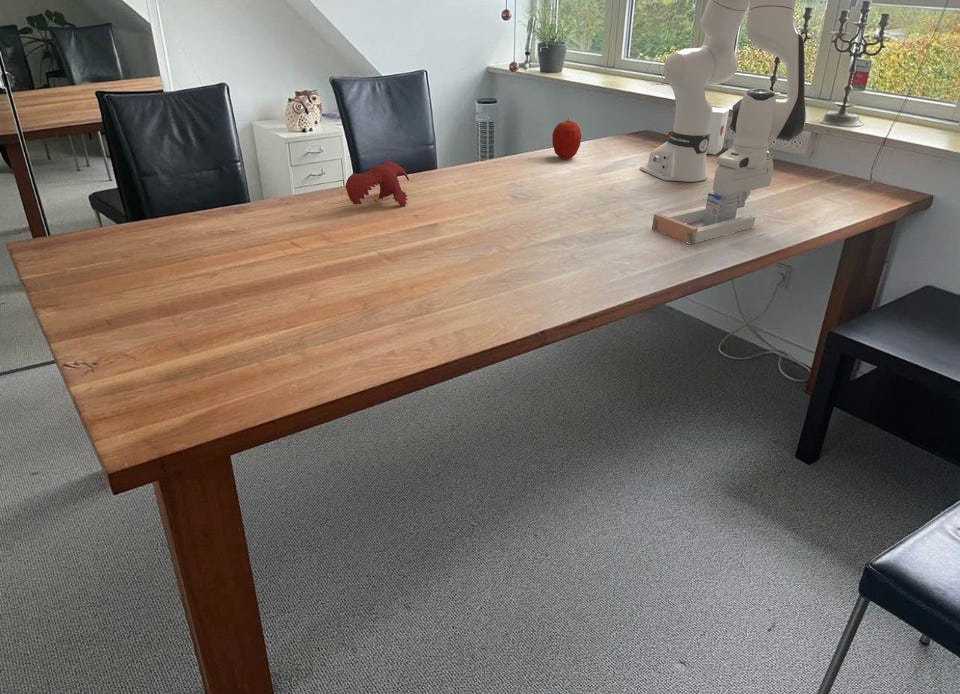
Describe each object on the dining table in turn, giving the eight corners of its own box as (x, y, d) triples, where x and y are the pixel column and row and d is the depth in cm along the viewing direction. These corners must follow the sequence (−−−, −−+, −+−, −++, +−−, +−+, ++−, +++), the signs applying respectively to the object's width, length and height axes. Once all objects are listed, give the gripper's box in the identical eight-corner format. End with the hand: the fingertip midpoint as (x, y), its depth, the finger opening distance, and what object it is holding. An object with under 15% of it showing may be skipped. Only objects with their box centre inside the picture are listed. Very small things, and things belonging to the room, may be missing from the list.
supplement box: (715, 155, 255) (722, 112, 248) (691, 151, 260) (697, 109, 252) (722, 150, 262) (730, 108, 255) (699, 146, 266) (705, 105, 259)
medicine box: (721, 218, 192) (726, 187, 188) (735, 222, 189) (740, 191, 185) (702, 224, 189) (707, 192, 184) (716, 228, 185) (721, 197, 181)
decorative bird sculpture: (416, 205, 214) (386, 164, 212) (435, 188, 208) (405, 146, 207) (363, 233, 192) (329, 188, 190) (383, 215, 186) (348, 168, 184)
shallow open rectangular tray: (651, 228, 185) (653, 214, 183) (713, 213, 196) (716, 199, 194) (690, 244, 175) (693, 229, 173) (753, 227, 187) (756, 213, 185)
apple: (551, 154, 253) (554, 114, 247) (579, 155, 252) (582, 115, 246) (550, 161, 244) (552, 120, 238) (579, 162, 243) (582, 121, 237)
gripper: (763, 148, 190) (753, 198, 197) (713, 158, 180) (704, 210, 187) (783, 152, 186) (772, 203, 192) (733, 163, 176) (723, 216, 182)
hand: (738, 207), depth 189 cm, fingers closed
